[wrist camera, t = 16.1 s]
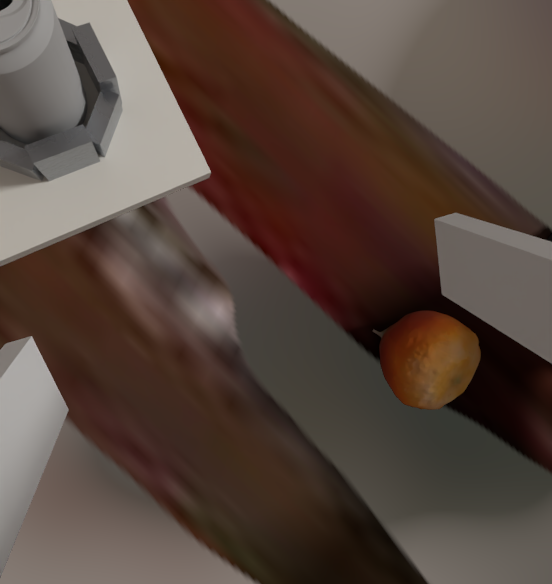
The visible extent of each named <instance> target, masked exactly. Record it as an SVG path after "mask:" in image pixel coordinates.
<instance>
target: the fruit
mask: <svg viewBox="0 0 552 584" xmlns="http://www.w3.org/2000/svg"><path fill="white" fill-rule="evenodd" d="M372 331H373V332H374V333H375V334H377V335H378V336H380V337H381V341H380V345H379V351H380V364H381V368H382V371H383V374H384V377H385V379H386V381H387V383H388V384H389V386H390V387H391V389H392V391H393V392H394V394H395V395H396V397H397V398H399V400H400V401H401V402H402V403H403V404H405V405H408V406H411V407H417V408H420V409H440V408H442V407H443V406H444V405H445V404H446V403H449V402H451V401H452V400H454V399H455V398H456V397H457V396H459V395H460V394H462V393H463V392H464V391H465V389H466V388H467V386H468V384H469V383H470V381H471V379H472V377H473V375H474V373H475V371H476V369H477V367H478V364H479V361H480V357H481V351H480V347H479V346H478V344H479V340H478V338H477V336H476V334H475V333H474V332H472V331H471V330H470V329H469V328H467V327H466V326H465V325H463V324H462V323H461V322H459V321H458V320H456V319H455V318H453V317H451V316H448V315H446V314H442V313H439V312H435V311H416V312H412V313H410V314H407V315H405V316H404V317H403V318H401V319H400V320H399V321H398V322H396V323H395V324H393V325H392V326H390V327H389V328H387V329H385V330H384V331H382V332H378V331H376V330H374V329H373V330H372Z"/></svg>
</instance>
